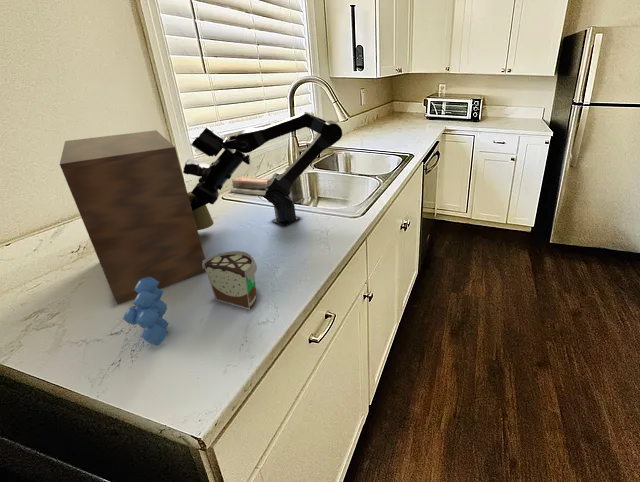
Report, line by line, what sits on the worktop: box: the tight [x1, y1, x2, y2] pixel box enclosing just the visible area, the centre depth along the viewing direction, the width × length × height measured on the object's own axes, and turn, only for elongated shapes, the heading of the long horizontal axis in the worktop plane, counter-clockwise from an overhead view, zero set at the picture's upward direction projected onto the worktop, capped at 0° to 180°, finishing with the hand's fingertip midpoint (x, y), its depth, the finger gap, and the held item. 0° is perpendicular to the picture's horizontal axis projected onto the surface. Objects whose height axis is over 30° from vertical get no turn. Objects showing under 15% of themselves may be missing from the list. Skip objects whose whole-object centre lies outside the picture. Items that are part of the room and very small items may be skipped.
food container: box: [202, 250, 258, 311], centre depth 71 cm, size 12×6×10 cm, turn 71°
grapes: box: [122, 277, 170, 346], centre depth 60 cm, size 12×7×12 cm, turn 31°
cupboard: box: [59, 129, 206, 305], centre depth 80 cm, size 18×26×32 cm
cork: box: [187, 190, 214, 231], centre depth 97 cm, size 6×6×11 cm
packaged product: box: [229, 175, 271, 196], centre depth 133 cm, size 18×5×10 cm
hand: (191, 206), depth 96 cm, fingers closed on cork, 5 cm apart
